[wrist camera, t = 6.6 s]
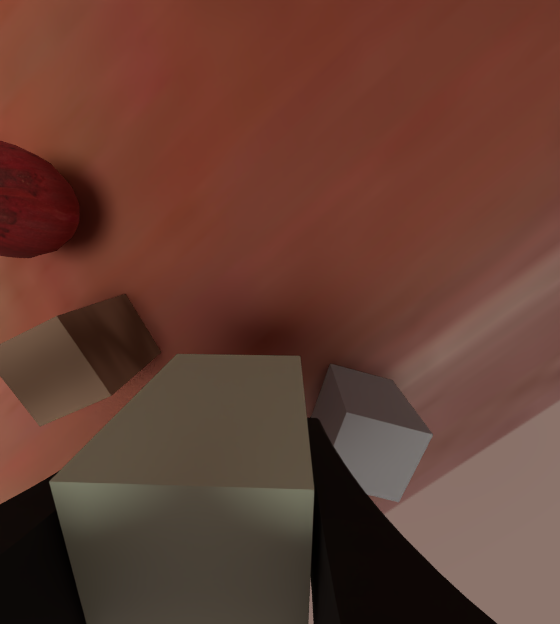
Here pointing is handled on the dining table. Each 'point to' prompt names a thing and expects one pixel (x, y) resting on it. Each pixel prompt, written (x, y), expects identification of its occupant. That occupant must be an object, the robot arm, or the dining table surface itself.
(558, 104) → the dining table surface
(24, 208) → the onion
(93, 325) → the walnut block
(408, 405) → the slate block
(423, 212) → the dining table surface
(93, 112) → the dining table surface
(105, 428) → the sage block
